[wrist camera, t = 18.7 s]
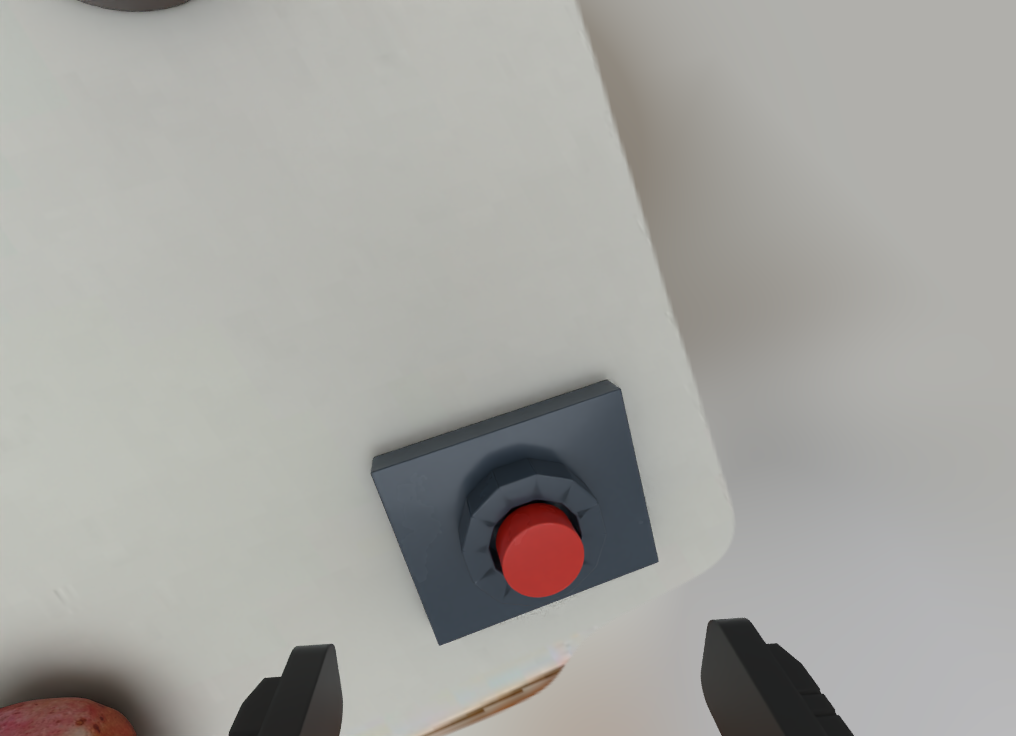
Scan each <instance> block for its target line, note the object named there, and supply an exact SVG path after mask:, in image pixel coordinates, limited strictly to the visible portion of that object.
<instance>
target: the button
mask: <svg viewBox="0 0 1016 736" xmlns="http://www.w3.org/2000/svg"><path fill="white" fill-rule="evenodd" d="M496 550H497V554H498V558H499V561H500V564H501V568H502V571H503V575H504V577H505V580H506V581H507V583H508V584H509V585H510V587H512V588H513V589H514V590H515V591H517V592H518V593H520V594H522V595H525V596H528V597H546V596H550V595H554V594H556V593H558V592H560V591H562V590H564V589H565V588H566V587H568V586H569V585H570V584H571V583H572V582H573V581H574V580H575V579H576V577H577V576H578V574H579V572H580V571H581V568H582V566H583V562H584V547H583V543H582V541H581V539H580V537H579V535H578V533H577V532H576V530H575V528H574V527H573V525H572V523H571V521H570V520H569V518H568V517H567V515H566V514H565V513H564V512H563V511H562V510H560V509H559V508H557V507H555V506H553V505H550V504H546V503H532V504H527V505H524V506H522V507H519V508H518V509H516V510H514V511H513V512H512V513H510V514H509V515H508V516H507V517H506V518H505V520H504V521H503V522H502V524H501V526H500V528H499V530H498V532H497V536H496Z"/></svg>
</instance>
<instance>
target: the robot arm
mask: <svg viewBox="0 0 1016 736" xmlns="http://www.w3.org/2000/svg"><path fill="white" fill-rule="evenodd" d="M701 684H702V689H703V693H704V697H705V700H706V703H707V705H708V708H709V710H710V712H711V714H712V716H713V718H714V720H715V722H716V724H717V727H718V729H719V731H720V733H721V735H722V736H854V735H853V734H852V733H851V731H850V730H849V728H848V727H847V725H846V724H845V723H844V721H843V720H842V719H841V717H840V716H839V715H836V713H835V709H834V708H833V706H832V705H831V703H830V702H829V701H828V699H827V698H826V697H825V695H824V694H821V692H820V688H819V687H818V686H817V684H816V683H815V682H814V680H813V679H812V677H811V676H810V675H809V673H808V672H807V670H806V669H805V668H804V666H803V665H802V664H801V663H800V662H799V661H798V660H796V659H795V658H794V657H793V656H792V655H790V654H789V653H788V652H787V651H785V650H784V649H783V648H782V647H780V646H779V645H778V644H777V643H775V644H766V643H765V642H764V640H763V639H762V638H761V636H760V635H759V633H758V632H757V630H756V629H755V627H754V626H753V624H752V623H751V622H750V621H749V620H748V619H746V618H733V619H719V620H710V621H709V623H708V626H707V633H706V639H705V647H704V653H703V661H702V668H701ZM342 713H343V698H342V690H341V684H340V677H339V670H338V664H337V657H336V650H335V647H334V645H333V644H324V645H309V646H296V647H295V648H294V649H293V650H292V652H291V654H290V657H289V659H288V662H287V664H286V666H285V669H284V671H283V674H282V676H281V677H271V678H264V679H263V680H262V681H261V682H260V684H259V685H258V686H257V687H256V688H255V689H254V691H253V692H252V693H251V694H250V695H249V696H248V697H247V699H246V700H245V701H244V702H243V703H242V705H241V707H240V710H239V712H238V714H237V716H236V718H235V720H234V723H233V725H232V727H231V729H230V731H229V736H339V734H340V729H341V723H342Z"/></svg>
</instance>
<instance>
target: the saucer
mask: <svg viewBox="0 0 1016 736" xmlns="http://www.w3.org/2000/svg"><path fill="white" fill-rule="evenodd" d="M79 1H81V2H84V3H87V4H91V5H95V6H99V7H103V8H107V9H115V10H122V11H151V10H158V9H165V8H169V7H173V6H176V5H179V4H183V3H185V2H188V1H190V0H79Z"/></svg>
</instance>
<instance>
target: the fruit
mask: <svg viewBox="0 0 1016 736" xmlns="http://www.w3.org/2000/svg"><path fill="white" fill-rule="evenodd" d="M0 736H137V735H136V732H135V730H134V728H133V726H132V725H131V723H130V722H129V721H128V720H127V718H126V717H125V716H124V715H123V714H121V713H120V712H119V711H117V710H115V709H113V708H110V707H107V706H105V705H102V704H100V703H97V702H95V701H92V700H89V699H87V698H77V697H61V698H48V699H36V700H31V701H25V702H20V703H16V704H13V705H9V706H6V707H3V708H0Z"/></svg>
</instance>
